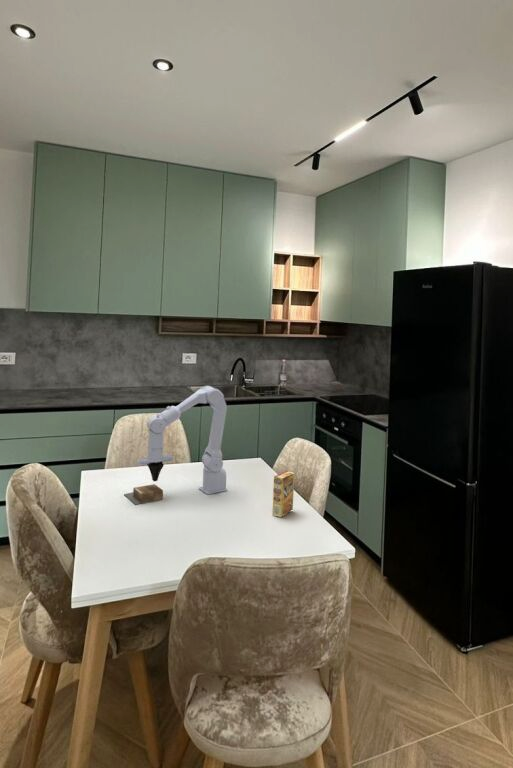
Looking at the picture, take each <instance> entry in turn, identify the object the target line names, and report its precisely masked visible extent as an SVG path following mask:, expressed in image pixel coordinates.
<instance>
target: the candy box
mask: <svg viewBox="0 0 513 768" xmlns="http://www.w3.org/2000/svg"><path fill="white" fill-rule="evenodd" d="M294 487H295V472H294V471H293V472H292V471H288V470H285V471H283V472H280V473H278V474H277V475H276V474H275V476H273V492H272V494H273V495H272V513H271V514H272V516H273V515H275V517H277V516H278V517H277V518H280V517H281V518H283V517H285V516H286V515H288V514H289V513H288V512H290V511H291V510H293V509H294V508H293V507H294ZM287 513H288V514H287ZM290 513H291V512H290ZM285 514H286V515H285ZM284 515H285V516H284ZM282 516H283V517H282Z"/></svg>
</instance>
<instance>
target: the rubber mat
mask: <svg viewBox="0 0 513 768" xmlns="http://www.w3.org/2000/svg"><path fill="white" fill-rule="evenodd" d="M123 496H125V497H126V499H128V500H129V501H130V502H131V503H133V505H135V506H137V505H143V504H148V503H152V502H159V501H160V500H161V499H159V500H154V501H149V502H143V503H141V502H139V501H138V500H137V499H136V498H135V497H134V496H133V492H128V493H124V494H123Z"/></svg>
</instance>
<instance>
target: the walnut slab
mask: <svg viewBox="0 0 513 768" xmlns="http://www.w3.org/2000/svg"><path fill="white" fill-rule="evenodd" d="M132 493H133V496H134V497H135V498H136V499H137V500H138V501H139V502H141V503H143V502H149V501H154V500H159V499H160V500H162V499H163V498H164V490H163V489H162V488H161V487H159V486H158V485H157V484H156V483H154V484H148V485H143V486H137V487H133V490H132ZM160 500H159V501H160ZM154 502H155V501H154ZM149 503H150V502H149Z"/></svg>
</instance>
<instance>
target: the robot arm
mask: <svg viewBox="0 0 513 768" xmlns="http://www.w3.org/2000/svg"><path fill="white" fill-rule="evenodd" d="M198 404H209V405H210V407H211V409H213V413H212V419H211V426H210V432H209V438H208V443H207V447H206V448H205V450H204V452H203V455H202V457H201V462H202V464H203V468H202V469H203V470H202V471H203V472H202V486H198V489H199V490H200V491H202V492H203V493H204V494H207V495H212V494H215V493H221V492H226V491H228V489H227V472H226V469H224V468H223V466H224V461H223V453H222V452H223V451H222V450H221V448H222V442H223V435H224V428H225V423H226V416H227V410H228V406H227V402H226V400H225V394H223V392H222V391H221V390H220V389H218V388H215V387H212V386H211V385H203V387H202V388H200V389H197V390H196V391H195V392H194V393H192V394H191V395H190V396H188V397H187V398H186V399H184V400H183V401H182V402H180V403H179V404H178V405H176V406H175V405H171V406H170V405H168V406H166V409H165V410H163V411H162V412H160V413H157V414H156V416H152V417H150V418H149V419H148V421H147V422H146V426H147V427H146V428H147V429H148V437H147V438H148V440H147V441H148V444H147V457H144V458H140V459H137V460H136V465H137V466H139V467H140V466H143V465H144V466H145V465H147V467H148V469H149V472H150V475H151V480H152V482H158V480H159V476H160V474H161V472H162V469H163V468H164V465H165V464H164V463H165V462H174V456H173V455H164V432H165V430H166V427H168V426H169V425H172V423H173V424H174V422H176V421H177V420H178V419H180V418H181V415H182V413H184V412H185V411H187V410H189V409H191V408H192V407H194V406H196V405H198Z"/></svg>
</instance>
